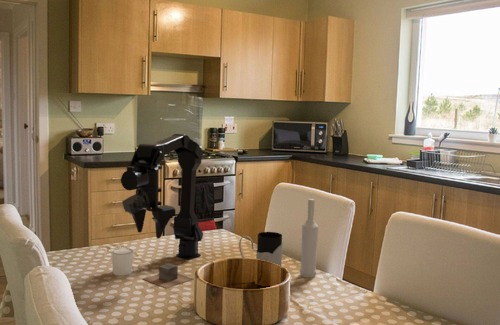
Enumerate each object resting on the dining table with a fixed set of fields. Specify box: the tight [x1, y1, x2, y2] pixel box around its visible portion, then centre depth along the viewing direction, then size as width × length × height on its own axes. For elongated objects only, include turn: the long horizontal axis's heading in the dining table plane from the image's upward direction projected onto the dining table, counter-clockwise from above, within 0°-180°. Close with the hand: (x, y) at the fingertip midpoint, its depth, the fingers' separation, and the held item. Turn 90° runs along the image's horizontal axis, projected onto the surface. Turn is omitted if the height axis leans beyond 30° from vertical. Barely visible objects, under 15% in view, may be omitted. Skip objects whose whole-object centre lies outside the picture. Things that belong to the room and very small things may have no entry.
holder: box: [238, 231, 283, 267], centre depth 160 cm, size 9×14×15 cm, turn 72°
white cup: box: [110, 248, 134, 277], centre depth 164 cm, size 7×7×7 cm
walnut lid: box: [142, 263, 194, 289], centre depth 160 cm, size 11×11×5 cm
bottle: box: [299, 198, 319, 279], centre depth 166 cm, size 5×5×25 cm
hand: (148, 235), depth 160 cm, fingers open, 9 cm apart
